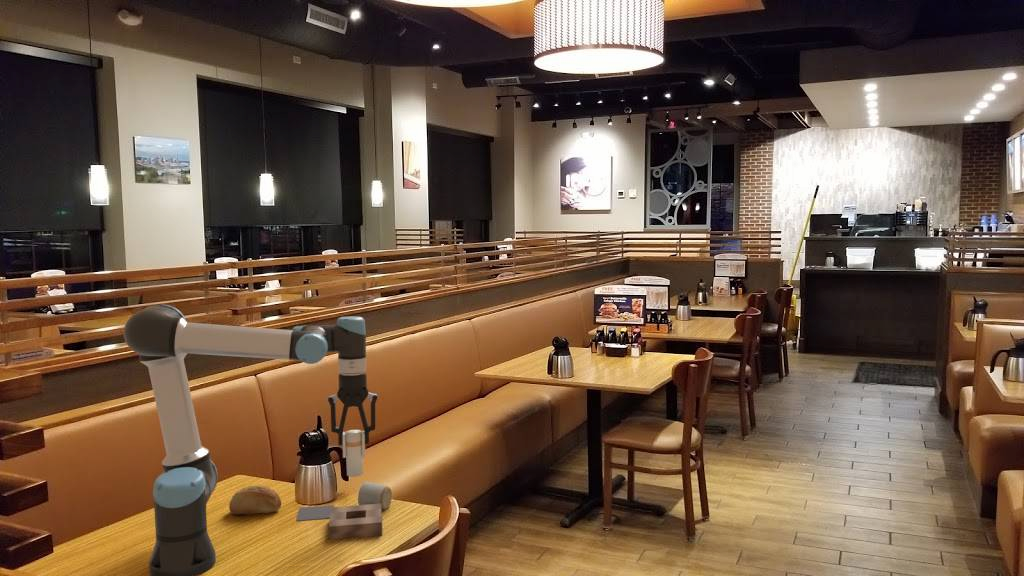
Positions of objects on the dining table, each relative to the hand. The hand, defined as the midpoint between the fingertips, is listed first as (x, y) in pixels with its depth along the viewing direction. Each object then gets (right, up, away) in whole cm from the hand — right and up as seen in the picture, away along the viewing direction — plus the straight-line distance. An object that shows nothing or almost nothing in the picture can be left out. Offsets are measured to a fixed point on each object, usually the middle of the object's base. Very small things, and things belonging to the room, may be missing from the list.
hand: (354, 455), depth 205 cm
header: (0, -21, +2) cm, 21 cm away
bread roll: (-32, -20, +14) cm, 41 cm away
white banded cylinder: (0, -5, 0) cm, 5 cm away
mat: (-14, -20, +12) cm, 27 cm away
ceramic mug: (+3, -20, +18) cm, 27 cm away
